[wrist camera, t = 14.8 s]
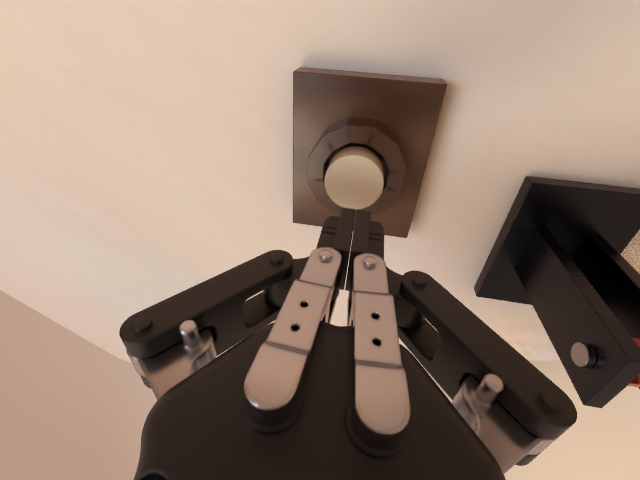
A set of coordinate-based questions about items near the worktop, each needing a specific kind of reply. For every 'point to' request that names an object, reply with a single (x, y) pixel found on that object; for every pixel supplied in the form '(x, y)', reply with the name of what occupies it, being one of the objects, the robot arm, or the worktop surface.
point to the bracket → (574, 277)
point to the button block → (362, 138)
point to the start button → (354, 178)
